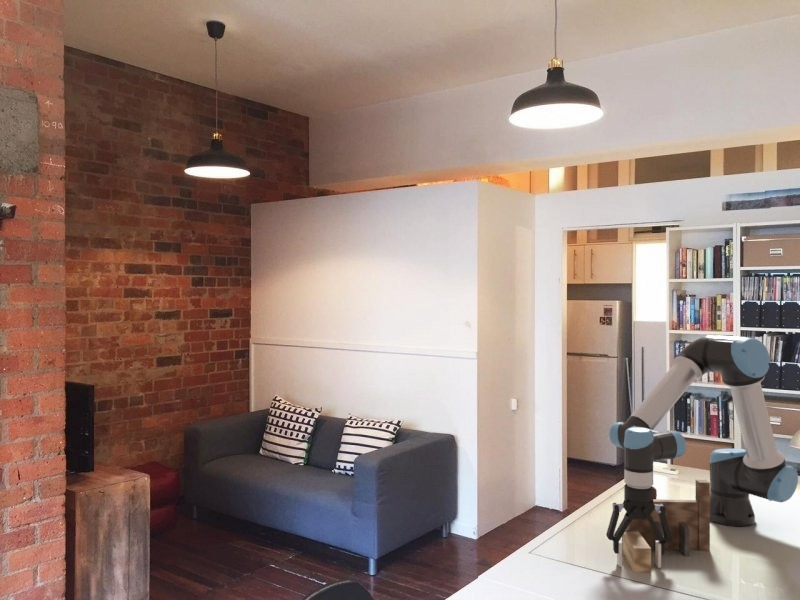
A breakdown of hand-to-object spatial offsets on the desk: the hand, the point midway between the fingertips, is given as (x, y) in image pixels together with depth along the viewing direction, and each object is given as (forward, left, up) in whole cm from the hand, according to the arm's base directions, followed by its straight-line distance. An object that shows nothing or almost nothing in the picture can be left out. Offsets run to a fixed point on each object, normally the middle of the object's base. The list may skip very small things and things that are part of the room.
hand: (638, 565), depth 184 cm
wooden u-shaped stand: (-12, -12, 0) cm, 17 cm away
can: (-9, -28, 0) cm, 29 cm away
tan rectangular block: (0, -3, 0) cm, 3 cm away
